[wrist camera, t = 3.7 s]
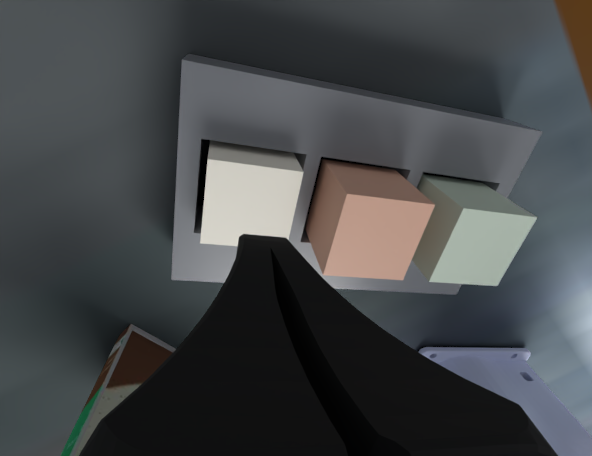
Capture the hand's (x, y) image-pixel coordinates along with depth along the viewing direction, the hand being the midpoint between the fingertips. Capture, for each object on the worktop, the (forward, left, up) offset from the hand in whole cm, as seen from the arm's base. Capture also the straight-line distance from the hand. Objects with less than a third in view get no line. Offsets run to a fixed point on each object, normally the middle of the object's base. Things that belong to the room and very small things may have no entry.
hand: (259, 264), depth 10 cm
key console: (-5, 0, -7) cm, 9 cm away
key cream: (0, 0, -7) cm, 7 cm away
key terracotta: (-5, 0, -6) cm, 7 cm away
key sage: (-9, 0, -6) cm, 11 cm away
